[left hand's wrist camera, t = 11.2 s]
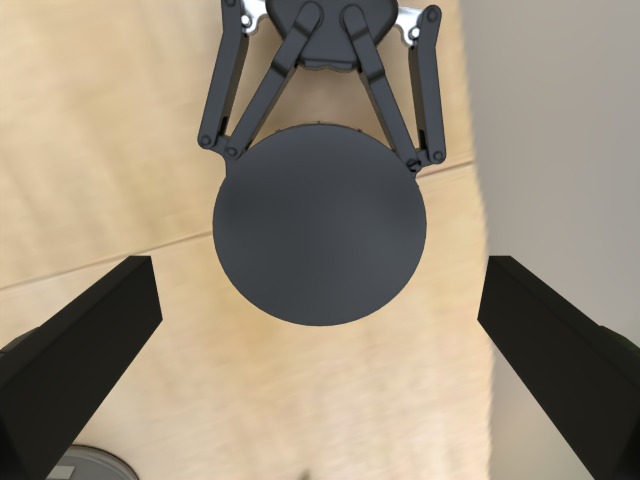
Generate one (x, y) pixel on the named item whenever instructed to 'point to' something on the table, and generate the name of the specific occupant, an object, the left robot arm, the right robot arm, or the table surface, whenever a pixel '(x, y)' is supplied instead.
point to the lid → (319, 224)
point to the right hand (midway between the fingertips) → (316, 245)
